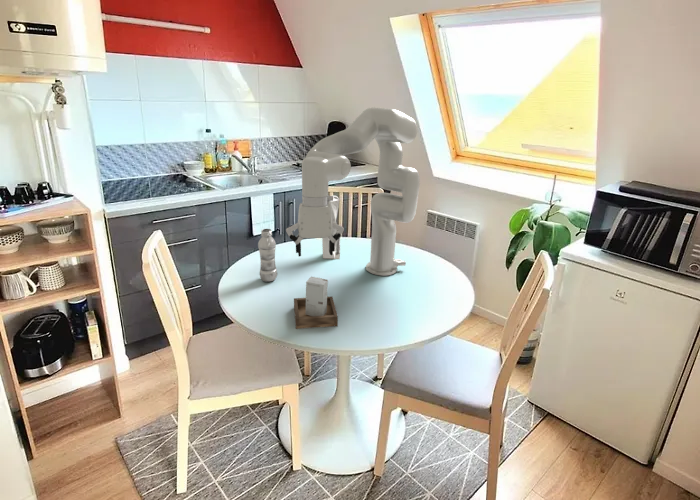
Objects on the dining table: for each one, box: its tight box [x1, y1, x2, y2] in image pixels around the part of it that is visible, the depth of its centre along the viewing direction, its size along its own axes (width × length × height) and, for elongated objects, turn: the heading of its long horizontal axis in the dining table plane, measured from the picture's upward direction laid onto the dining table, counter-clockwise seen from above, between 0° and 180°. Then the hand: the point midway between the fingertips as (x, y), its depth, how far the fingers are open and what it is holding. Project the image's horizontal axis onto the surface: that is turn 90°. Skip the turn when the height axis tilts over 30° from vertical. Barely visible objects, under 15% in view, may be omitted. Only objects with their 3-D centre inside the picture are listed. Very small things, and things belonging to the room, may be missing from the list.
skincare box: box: [305, 276, 329, 316], centre depth 141 cm, size 6×4×12 cm
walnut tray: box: [293, 296, 339, 330], centre depth 142 cm, size 13×13×4 cm
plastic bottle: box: [257, 228, 278, 283], centre depth 162 cm, size 6×7×20 cm
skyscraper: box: [321, 195, 341, 260], centre depth 183 cm, size 8×8×28 cm
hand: (315, 254), depth 135 cm, fingers open, 9 cm apart
